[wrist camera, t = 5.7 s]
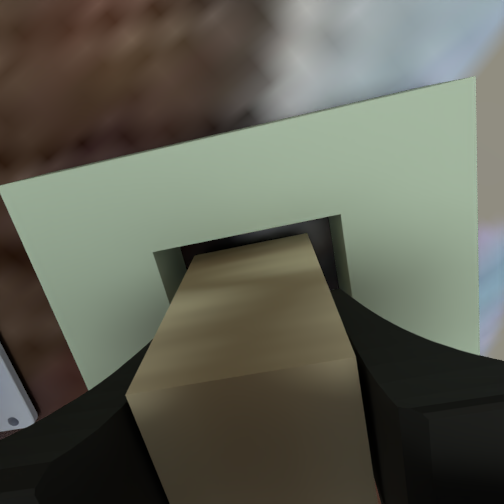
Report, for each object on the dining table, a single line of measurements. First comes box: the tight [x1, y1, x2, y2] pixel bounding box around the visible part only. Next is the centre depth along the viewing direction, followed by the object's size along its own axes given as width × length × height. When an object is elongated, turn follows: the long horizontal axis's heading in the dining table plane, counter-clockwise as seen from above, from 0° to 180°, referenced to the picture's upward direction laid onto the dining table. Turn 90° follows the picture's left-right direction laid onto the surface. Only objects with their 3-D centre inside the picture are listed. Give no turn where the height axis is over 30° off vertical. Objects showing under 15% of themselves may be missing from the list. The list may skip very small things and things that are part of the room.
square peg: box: [125, 233, 378, 504], centre depth 10 cm, size 4×4×7 cm
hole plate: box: [0, 76, 480, 390], centre depth 14 cm, size 14×12×3 cm
